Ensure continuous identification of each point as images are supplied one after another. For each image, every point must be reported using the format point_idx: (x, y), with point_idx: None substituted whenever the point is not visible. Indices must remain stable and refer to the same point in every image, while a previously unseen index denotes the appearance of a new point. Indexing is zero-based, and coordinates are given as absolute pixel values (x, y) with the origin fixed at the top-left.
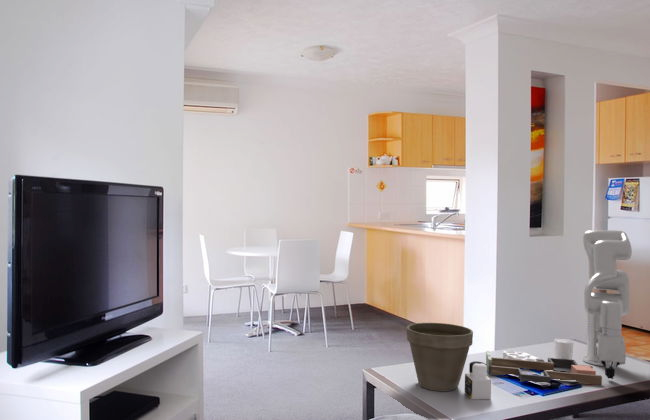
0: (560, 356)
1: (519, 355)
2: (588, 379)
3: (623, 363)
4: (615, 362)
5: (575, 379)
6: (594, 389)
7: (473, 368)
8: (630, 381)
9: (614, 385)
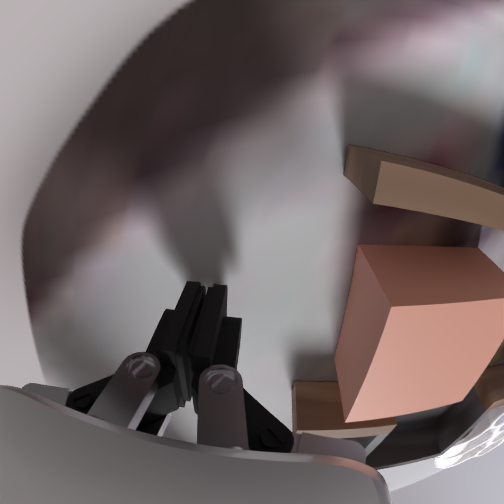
0: None
1: (498, 434)
2: (471, 179)
3: (36, 391)
4: (103, 418)
5: None
6: (448, 33)
7: None
8: (78, 302)
9: (212, 171)
